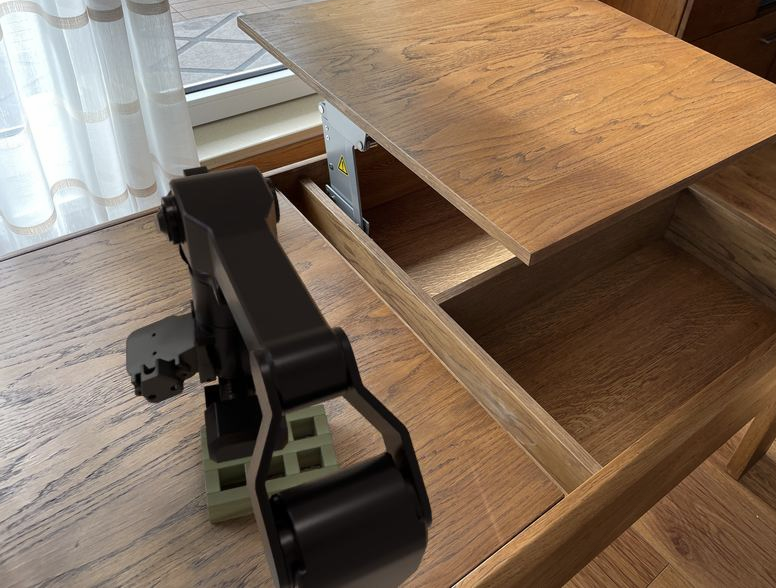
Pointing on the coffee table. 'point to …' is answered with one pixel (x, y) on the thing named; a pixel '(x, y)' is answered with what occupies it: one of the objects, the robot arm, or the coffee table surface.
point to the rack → (271, 465)
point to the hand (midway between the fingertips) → (242, 415)
